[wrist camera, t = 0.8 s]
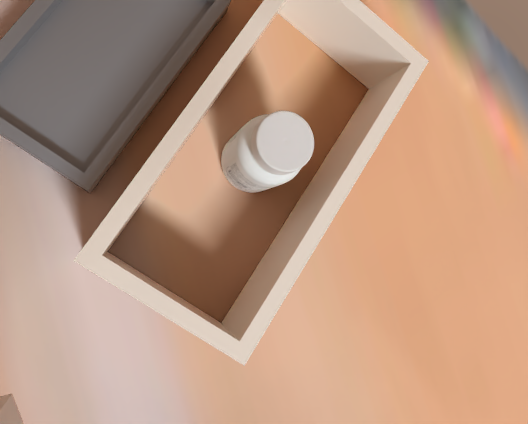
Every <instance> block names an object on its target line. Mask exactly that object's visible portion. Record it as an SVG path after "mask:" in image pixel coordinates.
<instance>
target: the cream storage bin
mask: <svg viewBox="0 0 528 424" xmlns="http://www.w3.org/2000/svg"><path fill="white" fill-rule="evenodd" d="M277 14H279V15H280V16H282V17H283V18H284V19H285V20H286V21H288V22H289V23H290V24H291V25H293V26H294V27H295V28H296V29H297V30H299V31H300V32H301V33H302V34H303V35H305V36H306V37H307V38H308V39H309V40H311V41H312V42H313V43H314V44H315V45H317V46H318V47H319V48H320V49H321V50H323V51H324V52H325V53H326V54H327V55H329V56H330V57H331V58H332V59H333V60H335V61H336V62H337V63H338V64H339V65H341V66H342V67H343V68H344V69H345V70H347V71H348V72H349V73H350V74H351V75H353V76H354V77H355V78H356V79H357V80H359V81H360V82H361V83H362V84H363V85H365V86H366V87H367V88H368V89H369V90H368V91H367V93H366V94H365V96H364V98H363V99H362V101H361V102H360V104H359V106H358V107H357V109H356V110H355V112H354V113H353V115H352V117H351V118H350V120H349V121H348V123H347V125H346V126H345V128H344V129H343V131H342V132H341V134H340V136H339V137H338V139H337V140H336V142H335V144H334V145H333V147H332V148H331V150H330V152H329V153H328V155H327V156H326V158H325V159H324V161H323V163H322V164H321V166H320V167H319V169H318V171H317V172H316V174H315V175H314V177H313V178H312V180H311V182H310V183H309V185H308V186H307V188H306V190H305V191H304V193H303V194H302V196H301V197H300V199H299V201H298V202H297V204H296V205H295V207H294V209H293V210H292V212H291V213H290V215H289V217H288V218H287V220H286V221H285V223H284V224H283V226H282V228H281V229H280V231H279V232H278V234H277V236H276V237H275V239H274V240H273V242H272V243H271V245H270V247H269V248H268V250H267V251H266V253H265V255H264V256H263V258H262V259H261V261H260V262H259V264H258V266H257V267H256V269H255V270H254V272H253V274H252V275H251V277H250V278H249V280H248V282H247V283H246V285H245V286H244V288H243V289H242V291H241V293H240V294H239V296H238V297H237V299H236V301H235V302H234V304H233V305H232V307H231V308H230V310H229V312H228V313H227V315H226V316H225V318H224V320H223V321H222V323H220V322H219V321H217V320H215V319H214V318H212V317H211V316H209V315H207V314H206V313H204V312H203V311H201V310H200V309H198V308H196V307H195V306H193V305H192V304H190V303H188V302H187V301H185V300H184V299H182V298H180V297H179V296H177V295H176V294H174V293H172V292H171V291H169V290H168V289H166V288H165V287H163V286H161V285H160V284H158V283H157V282H155V281H153V280H152V279H150V278H149V277H147V276H145V275H144V274H142V273H141V272H139V271H137V270H136V269H134V268H133V267H131V266H130V265H128V264H126V263H125V262H123V261H122V260H120V259H118V258H117V257H115V256H114V255H112V254H110V253H109V252H107V251H108V250H109V249H110V247H111V246H112V244H113V243H114V242H115V240H116V239H117V237H118V236H119V235H120V233H121V232H122V230H123V229H124V228H125V226H126V225H127V223H128V222H129V221H130V219H131V218H132V217H133V215H134V214H135V212H136V211H137V210H138V208H139V207H140V205H141V204H142V203H143V201H144V200H145V198H146V197H147V196H148V194H149V193H150V191H151V190H152V189H153V187H154V186H155V184H156V183H157V182H158V180H159V179H160V177H161V176H162V175H163V173H164V172H165V170H166V169H167V168H168V166H169V165H170V163H171V162H172V161H173V159H174V158H175V156H176V155H177V154H178V152H179V151H180V149H181V148H182V147H183V145H184V144H185V142H186V141H187V140H188V138H189V137H190V136H191V134H192V133H193V131H194V130H195V129H196V127H197V126H198V124H199V123H200V122H201V120H202V119H203V117H204V116H205V115H206V113H207V112H208V110H209V109H210V108H211V106H212V105H213V103H214V102H215V101H216V99H217V98H218V96H219V95H220V94H221V92H222V91H223V89H224V88H225V87H226V85H227V84H228V82H229V81H230V80H231V78H232V77H233V75H234V74H235V73H236V71H237V70H238V68H239V67H240V66H241V64H242V63H243V61H244V60H245V59H246V57H247V56H248V55H249V53H250V52H251V50H252V49H253V48H254V46H255V45H256V43H257V42H258V41H259V39H260V38H261V36H262V35H263V34H264V32H265V31H266V29H267V28H268V27H269V25H270V24H271V22H272V21H273V20H274V18H275V17H276V15H277ZM428 62H429V61H428V60H427V59H426V58H425V57H423V56H422V55H421V54H420V53H419V52H418V51H417V50H416V49H414V48H413V47H412V46H411V45H410V44H409V43H408V42H406V41H405V40H404V39H403V38H402V37H401V36H400V35H399V34H397V33H396V32H395V31H394V30H393V29H392V28H391V27H389V26H388V25H387V24H386V23H385V22H384V21H383V20H381V19H380V18H379V17H378V16H377V15H376V14H375V13H374V12H372V11H371V10H370V9H369V8H368V7H367V6H366V5H364V4H363V3H362V2H361V1H360V0H264V1H263V2H262V3H261V5H260V6H259V8H258V9H257V10H256V12H255V13H254V14H253V16H252V17H251V19H250V20H249V21H248V23H247V24H246V25H245V27H244V28H243V29H242V31H241V32H240V34H239V35H238V36H237V38H236V39H235V40H234V42H233V43H232V45H231V46H230V47H229V49H228V50H227V51H226V53H225V54H224V55H223V57H222V58H221V60H220V61H219V62H218V64H217V65H216V66H215V68H214V69H213V71H212V72H211V73H210V75H209V76H208V77H207V79H206V80H205V81H204V83H203V84H202V86H201V87H200V88H199V90H198V91H197V92H196V94H195V95H194V97H193V98H192V99H191V101H190V102H189V103H188V105H187V106H186V108H185V109H184V110H183V112H182V113H181V114H180V116H179V117H178V118H177V120H176V121H175V123H174V124H173V125H172V127H171V128H170V129H169V131H168V132H167V134H166V135H165V136H164V138H163V139H162V140H161V142H160V143H159V144H158V146H157V147H156V149H155V150H154V151H153V153H152V154H151V155H150V157H149V158H148V160H147V161H146V162H145V164H144V165H143V166H142V168H141V169H140V170H139V172H138V173H137V175H136V176H135V177H134V179H133V180H132V181H131V183H130V184H129V186H128V187H127V188H126V190H125V191H124V192H123V194H122V195H121V196H120V198H119V199H118V201H117V202H116V203H115V205H114V206H113V207H112V209H111V210H110V212H109V213H108V214H107V216H106V217H105V218H104V220H103V221H102V222H101V224H100V225H99V227H98V228H97V229H96V231H95V232H94V233H93V235H92V236H91V238H90V239H89V240H88V242H87V243H86V244H85V246H84V247H83V248H82V250H81V251H80V253H79V254H78V255H77V257H76V258H75V259H74V262H76V263H78V264H79V265H81V266H82V267H84V268H86V269H87V270H89V271H91V272H92V273H94V274H96V275H97V276H99V277H100V278H102V279H104V280H105V281H107V282H109V283H110V284H112V285H113V286H115V287H117V288H118V289H120V290H122V291H123V292H125V293H127V294H128V295H130V296H131V297H133V298H135V299H136V300H138V301H140V302H141V303H143V304H145V305H146V306H148V307H149V308H151V309H153V310H154V311H156V312H158V313H159V314H161V315H162V316H164V317H166V318H167V319H169V320H171V321H172V322H174V323H176V324H177V325H179V326H180V327H182V328H184V329H185V330H187V331H189V332H190V333H192V334H193V335H195V336H197V337H198V338H200V339H202V340H203V341H205V342H207V343H208V344H210V345H211V346H213V347H215V348H216V349H218V350H220V351H221V352H223V353H225V354H226V355H228V356H229V357H231V358H233V359H234V360H236V361H238V362H239V363H241V364H242V365H244V366H245V364H246V362H247V361H248V359H249V357H250V356H251V354H252V352H253V351H254V349H255V347H256V346H257V344H258V342H259V341H260V339H261V338H262V336H263V334H264V333H265V331H266V329H267V328H268V326H269V324H270V323H271V321H272V319H273V318H274V316H275V314H276V313H277V311H278V309H279V308H280V306H281V304H282V303H283V301H284V300H285V298H286V296H287V295H288V293H289V291H290V290H291V288H292V286H293V285H294V283H295V281H296V280H297V278H298V276H299V275H300V273H301V271H302V270H303V268H304V266H305V265H306V263H307V262H308V260H309V258H310V257H311V255H312V253H313V252H314V250H315V248H316V247H317V245H318V243H319V242H320V240H321V238H322V237H323V235H324V233H325V232H326V230H327V229H328V227H329V225H330V224H331V222H332V220H333V219H334V217H335V215H336V214H337V212H338V210H339V209H340V207H341V205H342V204H343V202H344V200H345V199H346V197H347V195H348V194H349V192H350V191H351V189H352V187H353V186H354V184H355V182H356V181H357V179H358V177H359V176H360V174H361V172H362V171H363V169H364V167H365V166H366V164H367V162H368V161H369V159H370V157H371V156H372V154H373V153H374V151H375V149H376V148H377V146H378V144H379V143H380V141H381V139H382V138H383V136H384V134H385V133H386V131H387V129H388V128H389V126H390V124H391V123H392V121H393V120H394V118H395V116H396V115H397V113H398V111H399V110H400V108H401V106H402V105H403V103H404V101H405V100H406V98H407V96H408V95H409V93H410V91H411V90H412V88H413V86H414V85H415V83H416V82H417V80H418V78H419V77H420V75H421V73H422V72H423V70H424V68H425V67H426V65H427V63H428Z"/></svg>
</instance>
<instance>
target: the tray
mask: <svg viewBox="0 0 528 424" xmlns="http://www.w3.org/2000/svg"><path fill="white" fill-rule="evenodd" d="M230 2H231V0H35V1H34V2H33V3H32V4H31V6H30V7H29V8H28V9H27V10H26V11H25V12H24V14H23V15H22V16H21V17H20V18H19V19H18V20H17V22H16V23H15V24H14V25H13V26H12V27H11V28H10V30H9V31H8V32H7V33H6V34H5V35H4V37H3V38H2V39H1V40H0V135H2V136H3V137H5V138H6V139H8V140H9V141H11V142H12V143H14V144H15V145H17V146H18V147H20V148H21V149H23V150H24V151H26V152H28V153H29V154H31V155H32V156H34V157H35V158H37V159H38V160H40V161H41V162H43V163H44V164H46V165H47V166H49V167H51V168H52V169H54V170H55V171H57V172H58V173H60V174H61V175H63V176H64V177H66V178H67V179H69V180H70V181H72V182H73V183H75V184H77V185H78V186H80V187H81V188H83V189H84V190H86V191H87V192H89V193H91V192H92V190H93V189H94V188H95V186H96V185H97V184H98V182H99V181H100V180H101V178H102V177H103V176H104V174H105V173H106V172H107V170H108V169H109V168H110V166H111V165H112V164H113V162H114V161H115V160H116V158H117V157H118V156H119V154H120V153H121V152H122V150H123V149H124V148H125V146H126V145H127V144H128V142H129V141H130V140H131V138H132V137H133V136H134V134H135V133H136V132H137V130H138V129H139V128H140V126H141V125H142V124H143V122H144V121H145V120H146V118H147V117H148V116H149V114H150V113H151V112H152V110H153V109H154V108H155V106H156V105H157V104H158V102H159V101H160V99H161V98H162V97H163V95H164V94H165V93H166V91H167V90H168V89H169V87H170V86H171V85H172V83H173V82H174V81H175V79H176V78H177V77H178V75H179V74H180V73H181V71H182V70H183V69H184V67H185V66H186V65H187V63H188V62H189V61H190V59H191V58H192V57H193V55H194V54H195V53H196V51H197V50H198V49H199V47H200V46H201V45H202V43H203V42H204V41H205V39H206V38H207V37H208V35H209V34H210V33H211V31H212V30H213V29H214V27H215V26H216V25H217V23H218V22H219V21H220V19H221V18H222V17H223V15H224V14H225V13H226V11H227V9H228V7H229V4H230Z"/></svg>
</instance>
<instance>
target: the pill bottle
mask: <svg viewBox="0 0 528 424" xmlns="http://www.w3.org/2000/svg"><path fill="white" fill-rule="evenodd" d="M313 150H314V136H313V133H312V130H311V128H310V126H309V124H308V123H307V122H306V121H305V120H304V119H303V118H302V117H301V116H299V115H298V114H296V113H293V112H290V111H277V112H273V113H271V114H265V115H260V116H257V117H255V118H253V119H251V120H250V121H249V122H247V123H246V124H245V125H244V126H243V127H242V128H241V129H240V130H239V131H238V132H237V133H236V134H235V135H234V136H233V137H232V138H231V139H230V140H229V141H228V142H227V143H226V145H225V147H224V149H223V152H222V156H221V165H222V170H223V173H224V175H225V177H226V178H227V180H228V181H229V182H230V183H231V184H232V185H233V186H234V187H235V188H237V189H239V190H241V191H244V192H250V193H255V192H261V191H264V190H267V189H270V188H273V187H276V186H279V185H281V184H284V183H286V182H288V181H290V180H291V179H293V178H294V177H295V176H296V175H297V174H298V172H299V171H300V170H301V168H302V167H303V166H304V165H305V164H306V163H307V162H308V161H309V160H310V158H311V156H312V153H313Z"/></svg>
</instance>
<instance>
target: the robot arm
mask: <svg viewBox="0 0 528 424" xmlns="http://www.w3.org/2000/svg"><path fill="white" fill-rule="evenodd" d="M0 424H24V423H23V421H22V418H21V415H20V413H19V410H18V408H17V405H16V402H15V400H14V397H13V395H12V394H9V395H4V396H0Z"/></svg>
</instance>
